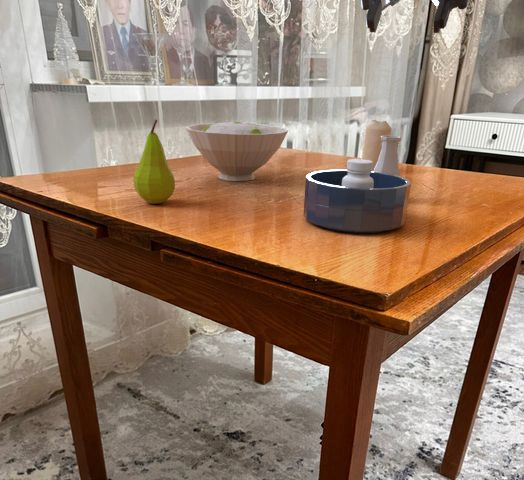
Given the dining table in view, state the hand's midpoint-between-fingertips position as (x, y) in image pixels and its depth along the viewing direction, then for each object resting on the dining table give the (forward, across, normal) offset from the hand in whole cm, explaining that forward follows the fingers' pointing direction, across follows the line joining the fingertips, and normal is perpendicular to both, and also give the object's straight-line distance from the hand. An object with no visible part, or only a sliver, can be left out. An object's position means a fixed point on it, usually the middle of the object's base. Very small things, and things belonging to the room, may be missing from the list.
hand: (403, 27), depth 72 cm
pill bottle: (+22, -2, +12) cm, 25 cm away
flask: (+11, -2, +24) cm, 26 cm away
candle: (-9, -10, +44) cm, 46 cm away
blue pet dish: (+23, -2, +12) cm, 26 cm away
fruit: (+26, -32, +8) cm, 43 cm away
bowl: (+8, -31, +27) cm, 42 cm away
